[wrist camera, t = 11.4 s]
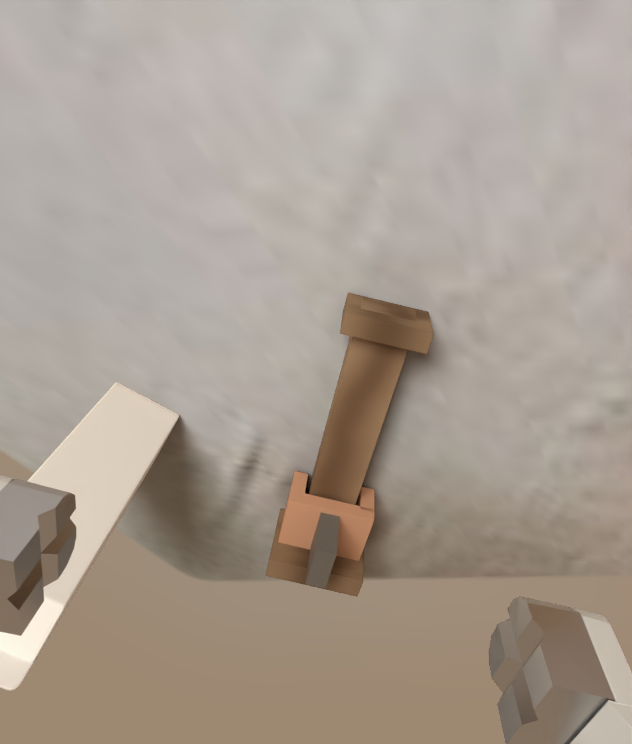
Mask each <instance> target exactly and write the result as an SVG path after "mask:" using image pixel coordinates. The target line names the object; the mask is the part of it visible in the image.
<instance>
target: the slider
mask: <svg viewBox="0 0 632 744" xmlns="http://www.w3.org/2000/svg"><path fill="white" fill-rule="evenodd" d="M307 478H308V474H306V473H301V472H297V471H295V472H294V476H293V480H292V484H291V488H290V492H289V496H288V500H287V504H286V508H285V512H284V517H283V522H282V526H281V531H280V536H279V541H278V542H279V543H283V544H288V545H292V546H296V547H301V548H305V549H309V550H310V555H309V563H308V570H307V577H306V585H310V586H314V587H319V588H323V589H325V588H326V585H327V582H328V579H329V576H330V573H331V570H332V567H333V564H334V561H335V558H336V556H339V557H344V558H348V559H352V560H357V561H359V560H360V557H361V555H362V552H363V549H364V547H365V544H366V541H367V539H368V536H369V533H370V530H371V528H372V525H373V522H374V489H370V488H366V487H361V489H360V492H359V495H358V498H357V501H356V504H355V505H353V504H348V503H344V502H340V501H335V500H331V499H327V498H323V497H318V496H314V495H310V494H305V489H306V484H307Z"/></svg>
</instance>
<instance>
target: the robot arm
mask: <svg viewBox="0 0 632 744" xmlns="http://www.w3.org/2000/svg"><path fill="white" fill-rule="evenodd" d="M75 509H76V501H75V495H74V494H72V493H70V492H66V491H62V490H58V489H54V488H50V487H46V486H43V485H39V484H35V483H31V482H27V481H23V480H19V479H14V478H10V477H6V476H2V475H0V632H4V633H9V634H14V635H19V636H21V635H22V634H23V632H24V631H25V629H26V628H27V626H28V625H29V623H30V622H31V620H32V619H33V617H34V616H35V614H36V613H37V611H38V609H39V608H40V606H41V605H42V603H43V602H44V589H43V587H45V586H47V585H48V584H50V583H52V582H54V581H56V580H57V579H59V577H60V576H61V574H62V572H63V571H64V569H65V568H66V566H67V564H68V562H69V559H70V557H71V554H72V552H73V550H74V546H75V541H76V525H75V524H74V523H73V522H72V520H71V519H70V516H71V515H72V514H73V512H74V511H75ZM508 612H509V615H510V619H508V620H506V621H504V622H501V623H499V624H498V625H497V627H496V629H495V631H494V633H493V634H492V636H491V642H490V648H489V665H490V670H491V675H492V679H493V680H494V682H495V683H496V684H497V685H498V687H499V688H500V690H501V691H502V692H503V695H502V697H501V698H500V700H499V702H498V710H499V714H500V719H501V724H502V729H503V733H504V738H505V743H506V744H632V672H631V670H630V667H629V665H628V663H627V661H626V658H625V657H624V654H623V652H622V650H621V648H620V645H619V643H618V641H617V639H616V637H615V634H614V632H613V630H612V628H611V626H610V624H609V622H608V621H607V619H606V618H604V616H603V615H600V614H596V613H591V612H587V611H582V610H578V609H572V608H570V607H566V606H562V605H557V604H552V603H548V602H543V601H539V600H534V599H530V598H525V597H518V598H516V599H514V600H513V601H512V603H511V604H510V606H509V607H508Z"/></svg>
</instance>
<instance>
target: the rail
mask: <svg viewBox="0 0 632 744" xmlns="http://www.w3.org/2000/svg"><path fill="white" fill-rule="evenodd" d="M340 334H344V335H349V336H350V339H349V343H348V347H347V350H346V354H345V358H344V361H343V365H342V369H341V372H340V376H339V379H338V383H337V387H336V390H335V394H334V398H333V401H332V405H331V409H330V412H329V416H328V420H327V423H326V427H325V431H324V434H323V438H322V442H321V445H320V449H319V452H318V456H317V460H316V463H315V467H314V471H313V474H312V478H311V482H310V485H309V489H308V493H307V494H310V495H314V496H318V497H323V498H327V499H331V500H335V501H340V502H344V503H348V504H353V505H355V504H356V501H357V498H358V495H359V492H360V489H361V487H362V484H363V481H364V478H365V475H366V472H367V469H368V466H369V463H370V460H371V457H372V454H373V451H374V448H375V445H376V442H377V439H378V437H379V434H380V431H381V428H382V425H383V422H384V419H385V416H386V413H387V410H388V407H389V404H390V401H391V398H392V395H393V392H394V389H395V387H396V384H397V381H398V378H399V375H400V372H401V369H402V366H403V363H404V360H405V357H406V354H407V351H408V350H411V351H416V352H420V353H424V354H427V352H428V349H429V346H430V344H431V341H432V338H433V335H434V333H433V329H432V325H431V321H430V317H429V313H428V312H426V311H422V310H418V309H414V308H410V307H405V306H401V305H397V304H393V303H389V302H385V301H381V300H376V299H372V298H368V297H364V296H360V295H356V294H351V293H348V295H347V299H346V302H345V306H344V310H343V316H342V323H341V331H340ZM284 512H285V509H281V510H280V514H279V518H278V522H277V527H276V531H275V536H274V540H273V545H272V549H271V554H270V558H269V563H268V567H267V571H266V576H270V577H274V578H279V579H283V580H287V581H292V582H296V583H300V584H305V585H306V577H307V570H308V563H309V555H310V550H309V549H305V548H301V547H296V546H292V545H288V544H283V543H279V542H278V541H279V536H280V531H281V526H282V522H283V517H284ZM363 567H364V549H363V552H362V555H361V557H360V560H359V561H357V560H352V559H348V558H344V557H339V556H336V558H335V561H334V564H333V567H332V570H331V573H330V576H329V579H328V582H327V585H326V588H325V589H326V590H331V591H335V592H339V593H344V594H348V595H353V596H358V593H359V591H360V588H361V586H362V583H363ZM309 586H310V585H309ZM313 587H314V586H313ZM318 588H319V587H318ZM322 589H323V588H322Z"/></svg>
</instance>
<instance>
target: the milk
mask: <svg viewBox="0 0 632 744" xmlns="http://www.w3.org/2000/svg"><path fill="white" fill-rule="evenodd" d="M178 418H179V415H178V414H177V413H175V412H173V411H171V410H169V409H167V408H165V407H163V406H161V405H160V404H158V403H156V402H154V401H152V400H150V399H148V398H146V397H144V396H142V395H141V394H139V393H137V392H135V391H133V390H131V389H129V388H127V387H125V386H123V385H122V384H120V383H118V382H116V383H115V384H114V385H113V386H112V387H111V388H110V389H109V390H108V392H107V393H106V394H105V395H104V396H103V397H102V398H101V399H100V401H99V402H98V403H97V404H96V405H95V406H94V407H93V408H92V409H91V411H90V412H89V413H88V414H87V415H86V416H85V417H84V418H83V420H82V421H81V422H80V423H79V424H78V425H77V426H76V427H75V429H74V430H73V431H72V432H71V433H70V434H69V435H68V436H67V437H66V439H65V440H64V441H63V442H62V443H61V444H60V445H59V446H58V448H57V449H56V450H55V451H54V452H53V453H52V454H51V455H50V456H49V458H48V459H47V460H46V461H45V462H44V463H43V464H42V465H41V467H40V468H39V469H38V470H37V471H36V472H35V473H34V474H33V476H32V477H31V478H30V479H29V480H28V481H27V482H31V483H35V484H39V485H43V486H46V487H50V488H54V489H58V490H62V491H66V492H70V493H72V494H74V495H75V501H76V509H75V511H74V512H73V514H72V515H71V516H70V519H71V520H72V522H73V523H74V524H75V525H76V541H75V546H74V550H73V552H72V554H71V557H70V559H69V562H68V564H67V566H66V568H65V569H64V571H63V572H62V574H61V576H60V577H59V579H57V580H56V581H54V582H52V583H50V584H48V585H47V586H45V587H43V589H44V602H43V603H42V605H41V606H40V608H39V609H38V611H37V613H36V614H35V616H34V617H33V619H32V620H31V622H30V623H29V625H28V626H27V628H26V629H25V631H24V632H23V634H22V635H21V636H19V635H14V634H9V633H4V632H0V687H1V688H4V689H6V690H14V689H16V688H17V687H18V686H19V685H20V684H21V682H22V680H23V679H24V677H25V675H26V674H27V672H28V670H29V669H30V667H31V665H32V664H33V663H34V662H35V660H36V659H37V658H38V656H39V654H40V652H41V651H42V649H43V647H44V646H45V644H46V642H47V641H48V639H49V637H50V635H51V634H52V632H53V631H54V629H55V627H56V626H57V624H58V622H59V621H60V619H61V617H62V616H63V614H64V612H65V610H66V609H67V607H68V606H69V603H70V602H71V600H72V599H73V597H74V595H75V594H76V592H77V590H78V589H79V587H80V585H81V584H82V582H83V580H84V578H85V577H86V575H87V574H88V572H89V570H90V569H91V567H92V565H93V564H94V562H95V560H96V559H97V557H98V555H99V554H100V552H101V550H102V548H103V547H104V545H105V543H106V542H107V540H108V538H109V536H110V535H111V533H112V532H113V530H114V528H115V527H116V525H117V523H118V522H119V520H120V518H121V517H122V515H123V513H124V512H125V510H126V508H127V507H128V505H129V503H130V501H131V500H132V498H133V496H134V495H135V493H136V491H137V490H138V488H139V486H140V485H141V483H142V481H143V480H144V478H145V476H146V475H147V473H148V471H149V470H150V468H151V466H152V465H153V463H154V461H155V459H156V458H157V456H158V454H159V452H160V450H161V449H162V447H163V445H164V443H165V442H166V440H167V438H168V436H169V434H170V433H171V431H172V429H173V427H174V425H175V424H176V422H177V420H178Z"/></svg>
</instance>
